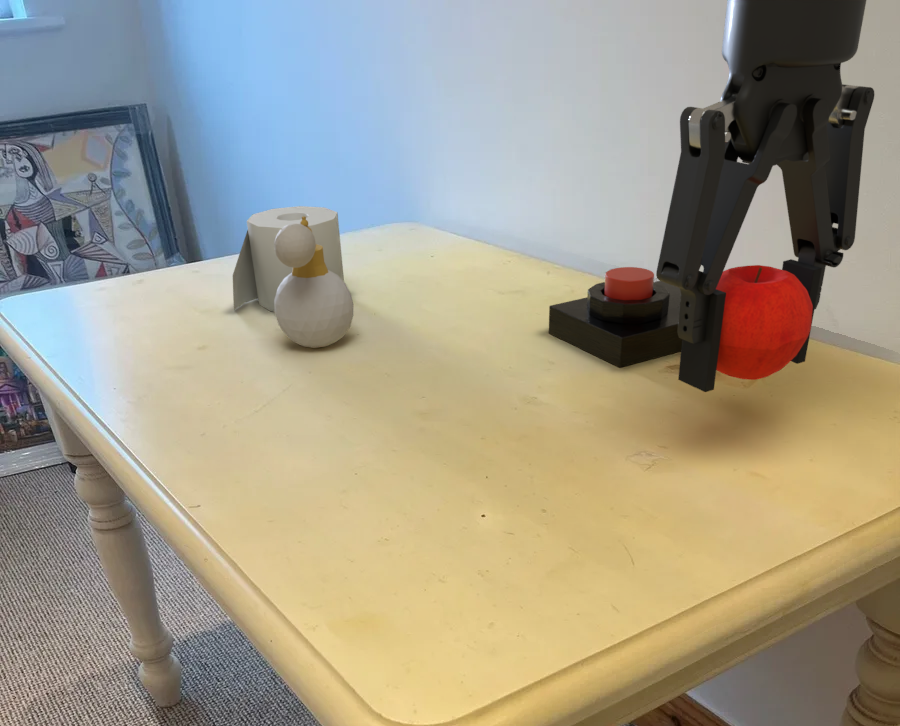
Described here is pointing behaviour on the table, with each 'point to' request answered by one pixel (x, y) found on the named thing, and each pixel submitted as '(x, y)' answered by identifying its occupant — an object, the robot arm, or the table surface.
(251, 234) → the toilet tissue
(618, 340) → the button base
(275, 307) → the perfume bottle
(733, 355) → the apple
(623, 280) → the button
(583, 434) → the table surface
